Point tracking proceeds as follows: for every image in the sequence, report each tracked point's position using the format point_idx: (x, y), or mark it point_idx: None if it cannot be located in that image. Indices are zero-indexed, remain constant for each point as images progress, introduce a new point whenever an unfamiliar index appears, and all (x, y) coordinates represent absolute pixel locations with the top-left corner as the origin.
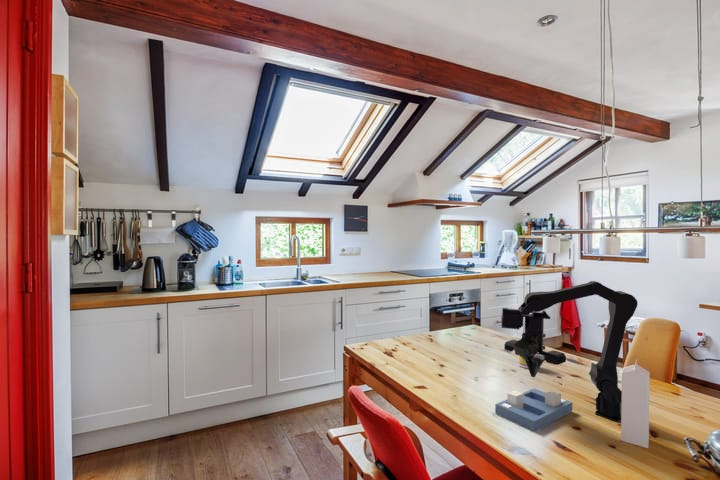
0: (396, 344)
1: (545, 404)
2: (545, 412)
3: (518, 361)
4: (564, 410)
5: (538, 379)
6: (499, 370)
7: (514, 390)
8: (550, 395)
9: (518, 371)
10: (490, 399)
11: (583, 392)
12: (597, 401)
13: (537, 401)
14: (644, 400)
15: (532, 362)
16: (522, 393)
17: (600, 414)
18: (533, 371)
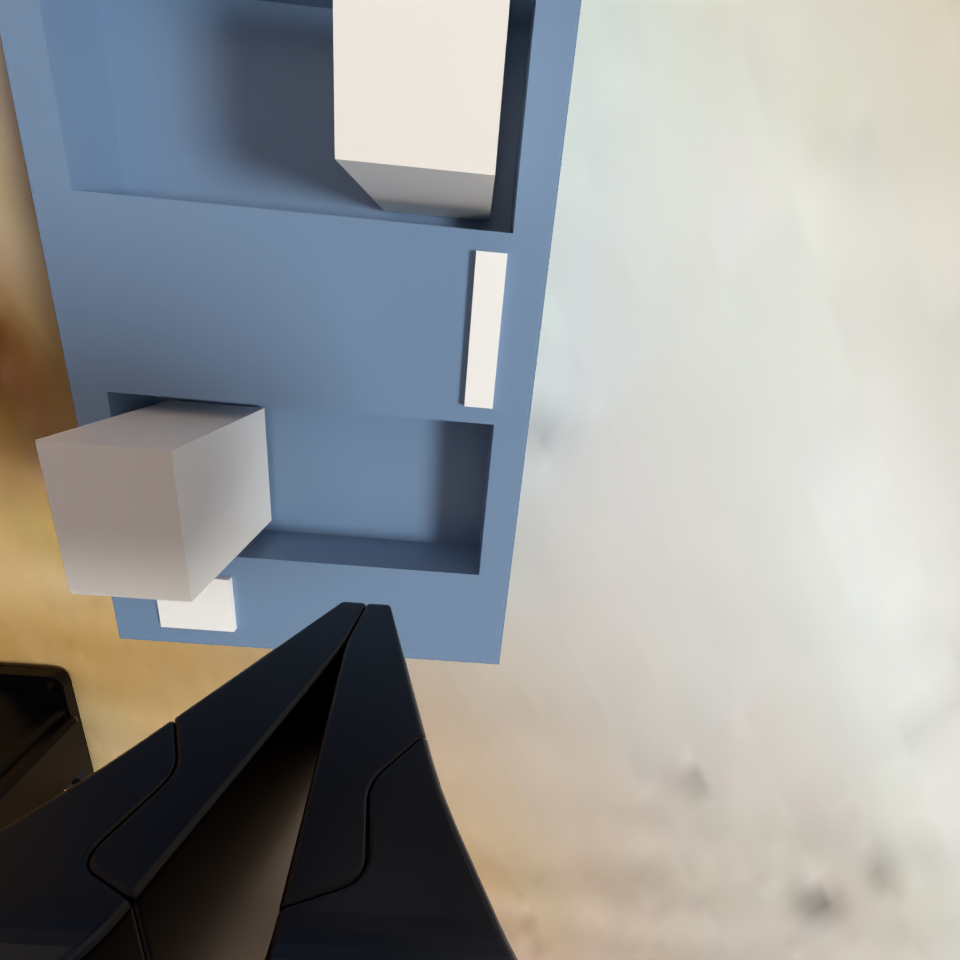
0: None
1: (213, 390)
2: (95, 193)
3: None
4: None
5: (613, 888)
6: (910, 845)
7: (492, 150)
8: (95, 444)
9: (779, 912)
10: (771, 231)
11: None
12: (2, 776)
13: (306, 394)
14: None
15: (89, 941)
16: (340, 137)
17: (18, 674)
18: (279, 665)
